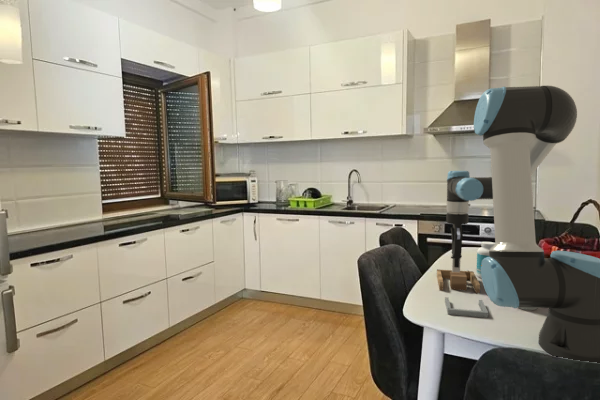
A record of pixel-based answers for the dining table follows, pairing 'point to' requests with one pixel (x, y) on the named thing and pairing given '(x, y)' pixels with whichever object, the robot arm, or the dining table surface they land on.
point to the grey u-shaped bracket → (467, 312)
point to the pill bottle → (483, 255)
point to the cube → (458, 281)
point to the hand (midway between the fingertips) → (455, 274)
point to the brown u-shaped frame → (469, 274)
